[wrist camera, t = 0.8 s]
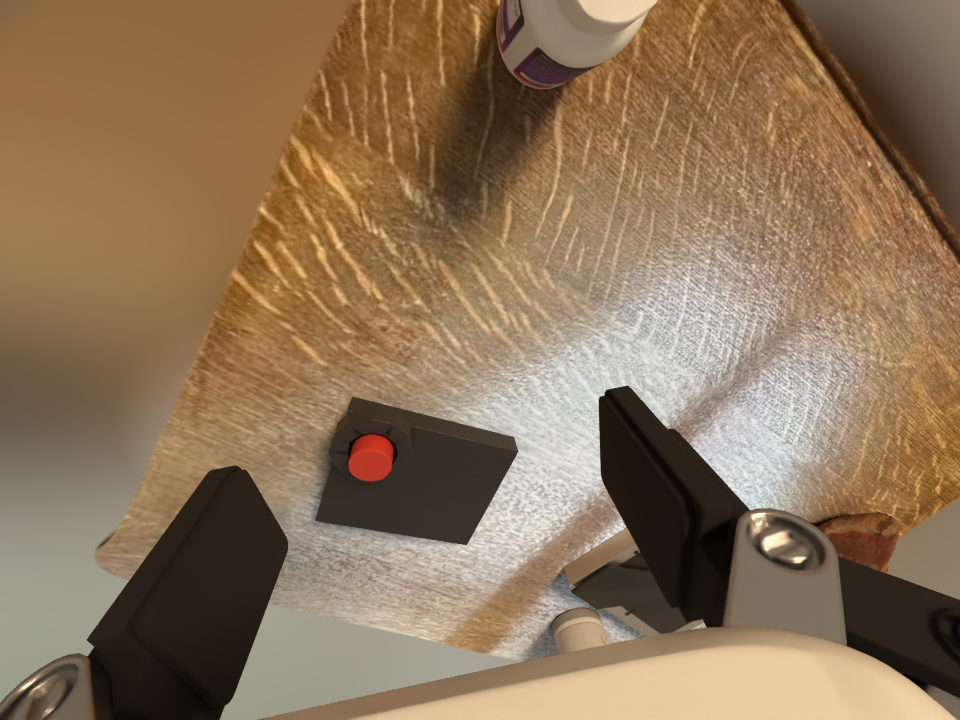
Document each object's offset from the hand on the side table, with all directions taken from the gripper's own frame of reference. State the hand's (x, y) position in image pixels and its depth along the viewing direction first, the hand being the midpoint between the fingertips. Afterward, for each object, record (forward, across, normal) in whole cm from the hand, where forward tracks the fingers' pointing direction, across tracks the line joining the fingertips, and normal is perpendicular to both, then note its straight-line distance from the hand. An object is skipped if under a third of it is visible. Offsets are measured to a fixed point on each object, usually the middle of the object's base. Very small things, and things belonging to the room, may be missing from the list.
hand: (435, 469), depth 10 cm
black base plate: (+19, +5, +16) cm, 26 cm away
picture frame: (+20, -19, +40) cm, 48 cm away
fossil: (+20, -38, +39) cm, 58 cm away
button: (+16, +7, +11) cm, 20 cm away
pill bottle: (+18, -9, -12) cm, 24 cm away
